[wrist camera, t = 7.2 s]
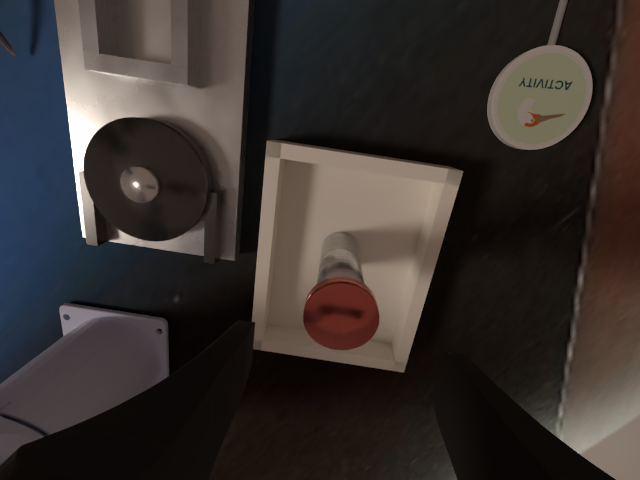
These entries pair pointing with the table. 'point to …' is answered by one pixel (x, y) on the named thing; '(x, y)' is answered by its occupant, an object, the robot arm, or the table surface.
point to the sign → (540, 94)
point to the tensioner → (159, 120)
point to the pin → (340, 298)
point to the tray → (365, 226)
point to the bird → (6, 44)
